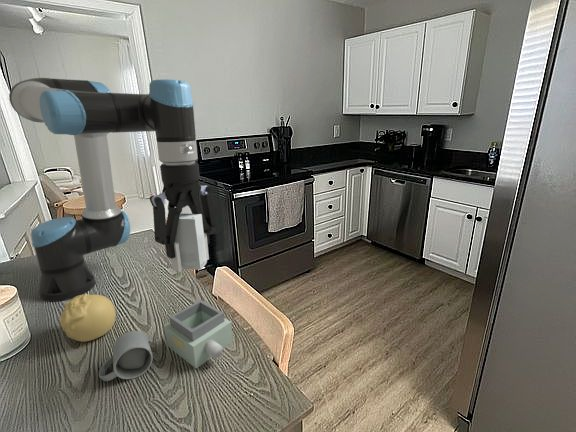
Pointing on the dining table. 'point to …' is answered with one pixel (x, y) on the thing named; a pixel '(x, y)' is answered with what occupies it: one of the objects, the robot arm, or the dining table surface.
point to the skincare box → (191, 241)
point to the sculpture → (87, 317)
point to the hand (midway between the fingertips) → (191, 263)
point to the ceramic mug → (128, 357)
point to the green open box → (198, 333)
